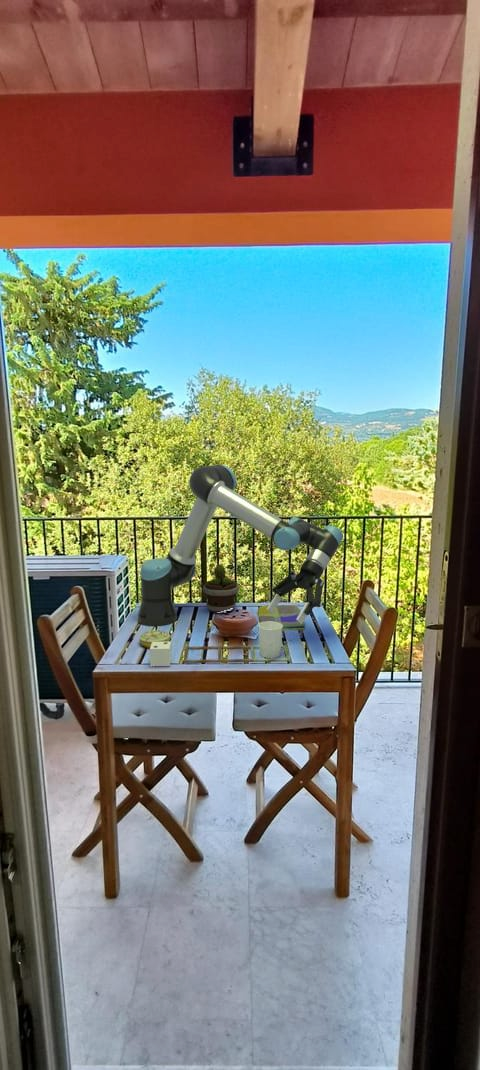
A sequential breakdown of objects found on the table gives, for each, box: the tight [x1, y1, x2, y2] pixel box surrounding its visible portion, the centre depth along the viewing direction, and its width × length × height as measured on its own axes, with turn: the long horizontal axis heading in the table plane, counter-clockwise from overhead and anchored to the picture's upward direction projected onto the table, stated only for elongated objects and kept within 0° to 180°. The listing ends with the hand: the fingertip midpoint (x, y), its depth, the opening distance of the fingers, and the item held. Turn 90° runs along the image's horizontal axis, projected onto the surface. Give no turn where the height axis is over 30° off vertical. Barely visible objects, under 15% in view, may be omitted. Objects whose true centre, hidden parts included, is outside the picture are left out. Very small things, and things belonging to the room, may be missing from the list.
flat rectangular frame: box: [182, 644, 291, 664], centre depth 176 cm, size 34×12×1 cm, turn 92°
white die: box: [149, 641, 173, 668], centre depth 169 cm, size 6×6×6 cm
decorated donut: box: [138, 629, 171, 649], centre depth 186 cm, size 10×11×4 cm
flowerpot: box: [202, 562, 240, 614], centre depth 221 cm, size 14×15×20 cm
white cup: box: [257, 621, 283, 659], centre depth 176 cm, size 8×8×10 cm
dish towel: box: [257, 604, 306, 631], centre depth 211 cm, size 18×24×3 cm
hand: (283, 616), depth 178 cm, fingers open, 13 cm apart
